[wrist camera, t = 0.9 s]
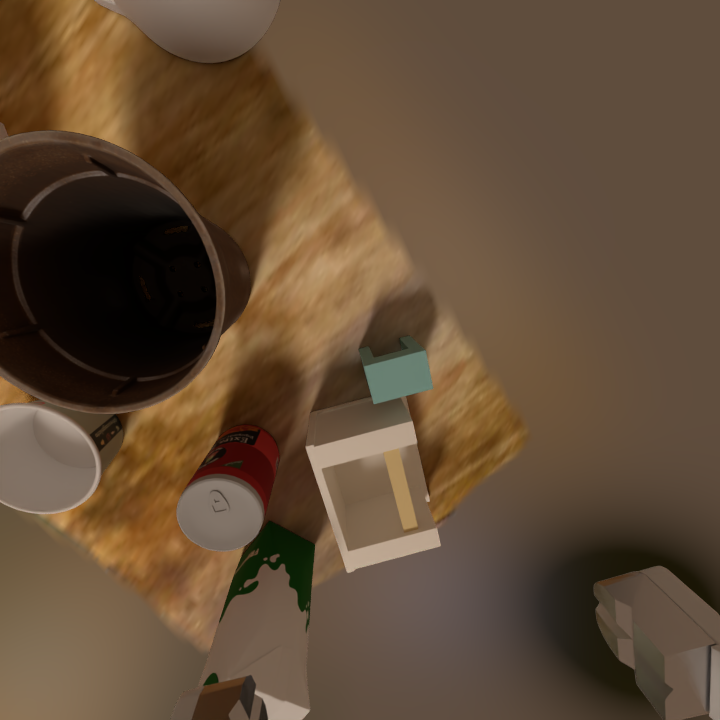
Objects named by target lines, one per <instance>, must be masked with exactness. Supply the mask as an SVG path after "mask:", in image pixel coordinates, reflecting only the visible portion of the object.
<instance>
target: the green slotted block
mask: <svg viewBox="0 0 720 720" xmlns="http://www.w3.org/2000/svg"><path fill="white" fill-rule="evenodd" d="M399 339H400V343H401V348H402V350H401V351H397V352H394V353H390V354H386V355H382V356H378V357H373V355H372V352H371V350H370V348H369V346H367V347H364V348H360V349H359V353H360V356H361V360H362V364H363V368H364V372H365V376H366V380H367V383H368V386H369V390H370V393H371V397H372V400H373V403H374V404H377V403H381V402H385V401H389V400H392V399H396V398H400V397H404V396H408V395H411V394H415V393H419V392H423V391H426V390H430V389H433V385H432V380H431V375H430V370H429V365H428V360H427V355H426V350H425V349H424V348H423V347H421V346H420V345H419V344H418V343H417V342H416V341H415V340H414V339H413V338H412V337H411V336H410V335H409V336H406V337H402V338H399Z"/></svg>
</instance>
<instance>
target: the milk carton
mask: <svg viewBox="0 0 720 720" xmlns="http://www.w3.org/2000/svg"><path fill="white" fill-rule="evenodd" d="M314 552H315V544H313V543H311V542H309V541H307V540H305V539H303V538H301V537H300V536H298V535H296V534H294V533H292V532H290V531H288V530H286V529H284V528H283V527H281V526H279V525H277V524H275V523H273V522H271V521H269V522H268V523H267V525H266V526H265V527H264V529H263V530H262V531H261V532H260V534H259V535H258V536H257V538H256V539H255V540H254V541H253V543H252V544H251V545H250V547H249V548H248V549H247V550H246V552H245V553H244V554H243V556H242V557H241V559H240V561H239V564H238V567H237V569H236V572H235V574H234V577H233V580H232V583H231V586H230V589H229V592H228V595H227V599H226V602H225V605H224V608H223V611H222V614H221V618H220V621H219V624H218V627H217V630H216V633H215V637H214V640H213V643H212V646H211V649H210V652H209V656H208V659H207V662H206V665H205V668H204V671H203V673H202V676H201V679H200V682H199V685H198V687H202V686H206V685H211V684H215V683H219V682H223V681H228V680H232V679H236V678H240V677H244V676H248V675H252V677H253V679H254V681H255V683H256V689H255V694H256V695H257V696H259V697H261V698H263V701H264V703H265V705H266V710H267V715H268V720H302V719H303V718H304V717H305V716H306V715H307V714H308V712H309V711H310V704H309V694H308V684H307V674H306V666H307V649H308V634H309V618H310V602H311V588H312V576H313V563H314ZM198 687H197V688H198Z"/></svg>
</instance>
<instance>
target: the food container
mask: <svg viewBox="0 0 720 720" xmlns="http://www.w3.org/2000/svg"><path fill="white" fill-rule="evenodd" d="M122 442H123V429H122V425H121V423H120V421H119V419H118V417H117V415H116V414H96V413H86V412H80V411H75V410H71V409H67V408H63V407H60V406H57V405H54V404H51V403H48V402H46V401H43V400H41V399H40V400H37V401H33V402H29V403H11V404H5V405H1V406H0V502H1V503H3V504H5V505H7V506H9V507H12V508H14V509H17V510H21V511H24V512H29V513H36V514H53V513H60V512H64V511H67V510H70V509H73V508H75V507H77V506H79V505H80V504H82V503H83V502H85V501H86V500H87V499H88V498H89V497H90V496H91V495H92V494H93V493H94V491H95V490H96V488H97V486H98V484H99V482H100V478H101V475H102V474H103V472H104V471H105V469H106V468H107V467H108V465H109V464H110V462H111V461H112V460H113V458H114V457H115V455H116V454H117V453H118V451H119V450H120V448H121V445H122Z"/></svg>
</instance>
